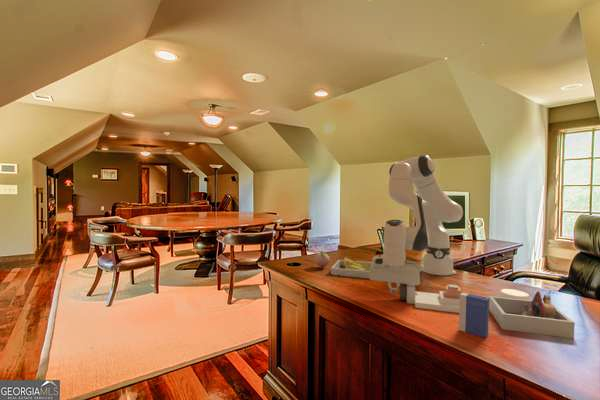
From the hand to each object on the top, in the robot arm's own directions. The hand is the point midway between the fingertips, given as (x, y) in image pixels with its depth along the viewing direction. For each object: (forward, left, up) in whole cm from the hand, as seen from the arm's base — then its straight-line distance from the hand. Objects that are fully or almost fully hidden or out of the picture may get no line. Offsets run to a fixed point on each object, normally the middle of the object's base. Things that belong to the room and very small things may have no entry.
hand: (393, 292), depth 129 cm
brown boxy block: (0, +22, -1) cm, 22 cm away
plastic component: (-37, -19, -3) cm, 42 cm away
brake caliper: (+8, +48, -3) cm, 49 cm away
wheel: (0, +6, -2) cm, 6 cm away
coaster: (-16, +47, -3) cm, 50 cm away
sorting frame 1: (-37, -19, -3) cm, 41 cm away
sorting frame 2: (+8, +44, -3) cm, 45 cm away
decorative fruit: (-38, -41, -3) cm, 56 cm away
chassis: (0, +17, -3) cm, 17 cm away
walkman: (+23, +25, -3) cm, 34 cm away
